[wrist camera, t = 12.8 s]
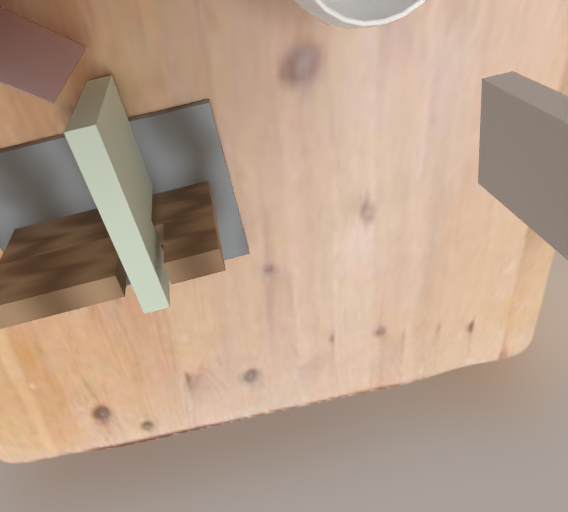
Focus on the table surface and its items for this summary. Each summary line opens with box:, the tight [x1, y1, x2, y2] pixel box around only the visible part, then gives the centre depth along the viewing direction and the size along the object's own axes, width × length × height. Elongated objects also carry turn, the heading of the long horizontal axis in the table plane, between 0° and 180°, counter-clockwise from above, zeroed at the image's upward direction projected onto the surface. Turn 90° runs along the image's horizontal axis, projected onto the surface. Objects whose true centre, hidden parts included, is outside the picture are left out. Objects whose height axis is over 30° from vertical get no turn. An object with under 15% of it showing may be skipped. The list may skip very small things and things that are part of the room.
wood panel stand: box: [0, 99, 250, 329], centre depth 44 cm, size 22×16×13 cm
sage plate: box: [64, 75, 170, 314], centre depth 41 cm, size 15×2×12 cm, turn 10°
